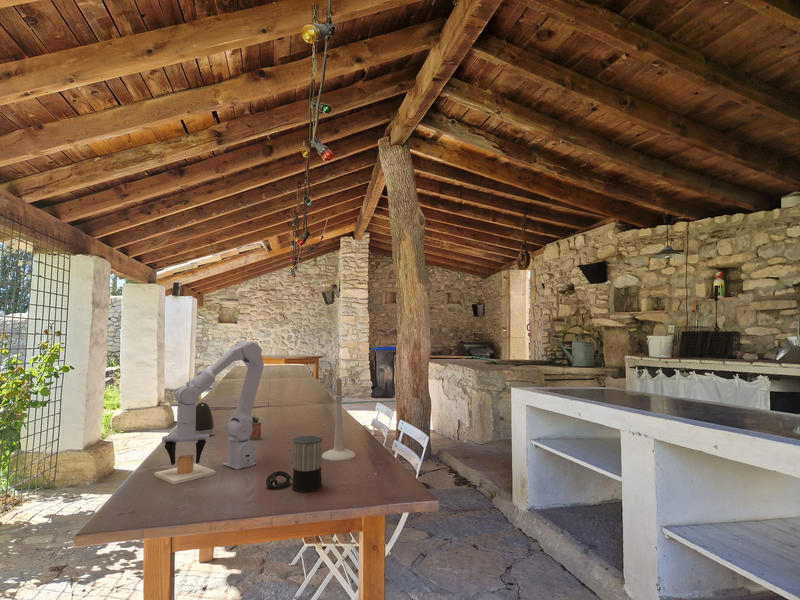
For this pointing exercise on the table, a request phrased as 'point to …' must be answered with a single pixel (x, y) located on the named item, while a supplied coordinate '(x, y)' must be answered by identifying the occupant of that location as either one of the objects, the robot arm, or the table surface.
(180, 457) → the cap
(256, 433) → the lighter
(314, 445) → the milk frother
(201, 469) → the post board
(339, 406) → the candlestick
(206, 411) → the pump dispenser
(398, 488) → the table surface
